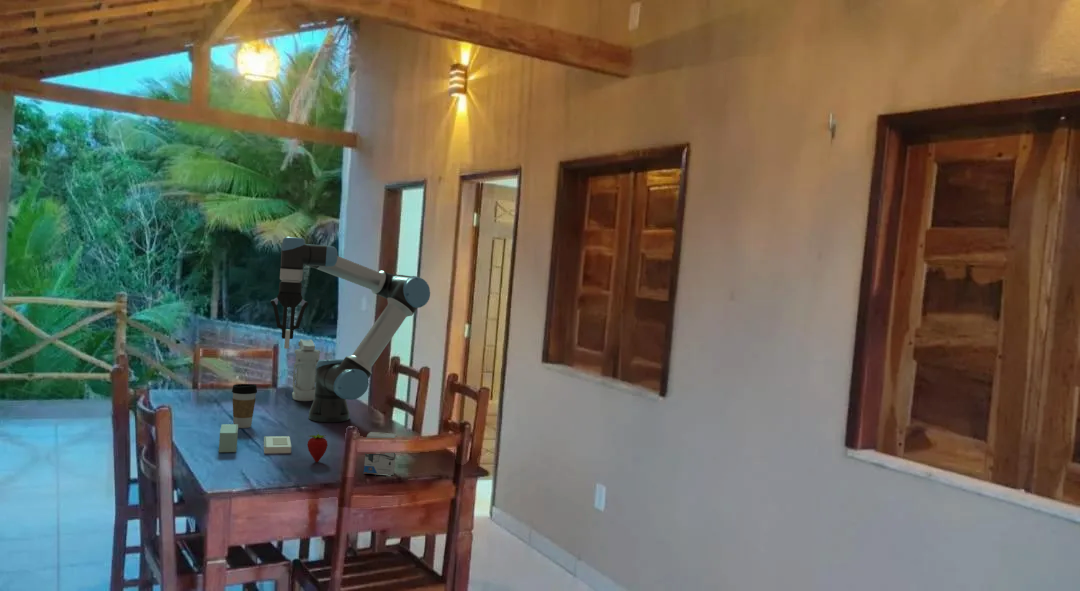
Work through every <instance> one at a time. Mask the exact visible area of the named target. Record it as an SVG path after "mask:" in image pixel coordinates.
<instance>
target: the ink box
mask: <svg viewBox="0 0 1080 591" xmlns="http://www.w3.org/2000/svg"><path fill="white" fill-rule="evenodd" d="M395 437H397V438H398V434H396V433H390V432H389V433H387V432H377V431H370V432H368V433H367V435H366V439H367V438H395ZM396 456H397V453H396V454H395V453H391V454H390V453H385V454H366V453H365V452H364V465H363V467H364V468H363V473H364V472H367V473H377V474H388V475H392V474H393V473H394V471H395V469H396ZM394 474H395V473H394ZM394 474H393V475H394Z"/></svg>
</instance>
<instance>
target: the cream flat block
mask: <svg viewBox="0 0 1080 591" xmlns="http://www.w3.org/2000/svg"><path fill="white" fill-rule="evenodd" d="M291 442H292V441H291V436H288V435H287V436H286V435H285V436H282V435H280V436H279V435H278V436H276V435H275V436H266V435H265V436H263V454H292V443H291Z"/></svg>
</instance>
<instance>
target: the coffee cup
mask: <svg viewBox="0 0 1080 591" xmlns="http://www.w3.org/2000/svg"><path fill="white" fill-rule="evenodd" d="M231 393H232V416H233V417H232V419H233V424H238V429H247V428H251V427H252V424H253V423H252V422H253V418H254V411H255V406H256V405H255V404H256V394H257V393H258V389H257V384H255V383H253V384H249V383H238V384H237V383H236V384H233V386H232V389H231Z"/></svg>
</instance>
